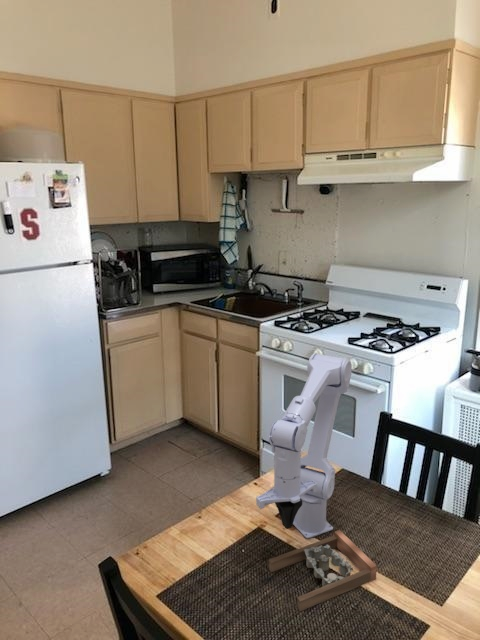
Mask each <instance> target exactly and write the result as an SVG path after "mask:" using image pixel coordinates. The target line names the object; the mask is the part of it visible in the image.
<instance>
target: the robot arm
mask: <svg viewBox="0 0 480 640" xmlns="http://www.w3.org/2000/svg"><path fill="white" fill-rule="evenodd" d="M306 370H307V380H306V382H305V384H304V386H303V388H302V391H301V392H300V395H296V396H294V397H293V398H292V400H291V401H290V403H289V405H288V406H287V408H286V410H285V412H284V414H283V415H282V417H281V418H280V419H278V420H275V421H274V422H272V424H271V427H270V430H269V436H268V441H269V444H270V446H271V452H272V454H273V456H274V457H273V461H274V462H273V463H274V465H273V467H274V471H273V472H274V473H273V474H274V475H273V477H274V478H273V481H274V482H273V484H274V486H273V487H272V488H270V489H268V490H267V491H265V492H264V493H262V494H260V495H258V496H256V497H255V501H256V502H255V503H256V506H257V507H258V508H259V509H260V510H262V509H265V507H266V506H269V505H271V504H275V507H276V508H277V510H278V513H279V516H280V520H281V525H282V526H283V527H284V528H285V529H286V530H289V529H291V528H293V526H294V528H296V529H297V530H298V532H300V534H301V535H302V536H303V537H304V538H305V539H308V540H309V539H312V538H313V537H316V536H319V535H321V534H322V535H323V534H325V533H327V532H330V531H333V530H334V527H333V526H332V524H330V523H329V521H327V501H328V500H329V499H330V498H331V497H332V495H333V493H334V489H335V478H336V469H335V467H334V466H333V465H332V464H331V463H330V461H329V460H328V454H329V453H328V452H329V449H330V444H331V440H332V434H333V429H334V424H335V419H336V415H337V410H338V405H339V401H340V399H341V395H342V394H345V393H347V392H348V389H349V387H350V382H351V378H352V370H353V369H352V362H351V360H350V358H348V357H345V358H344V357H339V356H333V355H332V356H331V355H328V354H327V355H326V354H321V353H320V354H319V353H317V352H314V353H312V354H311V355H310V356H309V359H308V362H307V369H306ZM316 401H318V403H317V407H316V404H315V403H316ZM314 415H315V418H314V421H313V422H314V423H313V427H312V432H311V436H310V442H309V446H308V450H307V453H306V455H304V456H301V454H302V448H303V447H304V444H305V442H306V438H307V434H308V426H309V424H310V422H311V420H313V419H312V418H313V417H314ZM312 468H314V469H312ZM316 469H317V470H316ZM319 470H321V471H319Z"/></svg>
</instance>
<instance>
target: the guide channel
mask: <svg viewBox="0 0 480 640" xmlns="http://www.w3.org/2000/svg"><path fill="white" fill-rule="evenodd" d="M327 544H328V545H329V546H330V548H331V549H333V550H334V549H336V548H337V549H338V550H339V551H340V552H341V553H342V554H343V555H344V556H345V557H346V558H347V559H348V560H349V561H350V562H351V563H352V564H353V565H354V566H355V568H356V569H358V572H355V573H353V574H351V575H350V576H348V577H345V576H344V577H345V578H343V579H340V580H338V581H336V580H335V581H333V583H331V584H328V585H326V586H321V587H319V588H317V589H314V590H312V591H309V592H306V593H304V594H302V595H299V596H297V597H296V607H297V609H298V611H299V612H302V611H305V610H306V609H310V608H312V607H314V606H316V605H318V604H320V603H321V604H322V603H323V602H326V601H328V600H330V599H332V598H335V597H337V596H340V595H342V594H344V593H347V592H349V591H351V590H354V589H357V588H359V587H361V586H363V585H365V584H368V583H371V582H372V581H374V580H377V567H378V566H377V565H376V563H375V562H373V561H372V560H371V558H370V557H368V556H367V555H366V554H365V553H364V552H363V550H361V549H360V548H359V546H357V545H356V544H355V543H354V542H353V541H352V540H351V539H350V538H349V537H347V536H346V535H345V533H343V532H342V530H340V529H339V530H336V531H334V535H332V536H329V537H326V538H324V539H321V540H318V541H315V542H312V543H310V544H308V545H307V544H306V545H304V546H302V547H299V548H297V549H293V550H291V551H288V552H285V553H283V554H279V555H277V556H275V557H271V558H269V559H268V560H267V561H268V571H269V572H270V573H274V572H276V571H279V570H281V569H284V568H287V567H289V566H292V565H294V564H297V563H299V562H302V561H306V557H307V556H306V554H305V551H304V549H311V548H312V547H319V546H320V545H322V546H323V547H324V546H326V545H327Z"/></svg>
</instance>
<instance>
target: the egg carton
mask: <svg viewBox="0 0 480 640" xmlns="http://www.w3.org/2000/svg"><path fill="white" fill-rule="evenodd" d="M304 551H305V554H306V556H307V557H306V559H305V564H306V567H307V568H309V569H310V568H311V569H313V577H315V579H322V581H321V587H323V586H326V585H328V584H331V583H333V582H335V581H338V580H340V579H343V578H345V577H348V576H350V575H352V574H351V573H352V572H353V571H354V567H353V566H352V564H350V562H349V561H347V560H345V559H344V557H342V556H341V555H340V553H338V552H337V551H335V550H334V549H331V548H330V546H329V545H328V544H327V545H326V546H324V547H323V546H322V545H320V546H319V547H312V548H311V549H304ZM330 557H331V559H330ZM330 560H331V561H330ZM317 562H318V563H317ZM330 562H331V565H333V566H335V567H339V574H340V575H337V574H336V573H334V572H329V573H327V575H325V572H324V571H329V569H330ZM317 565H318V568H317ZM325 576H327V578H326V577H325Z"/></svg>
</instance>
